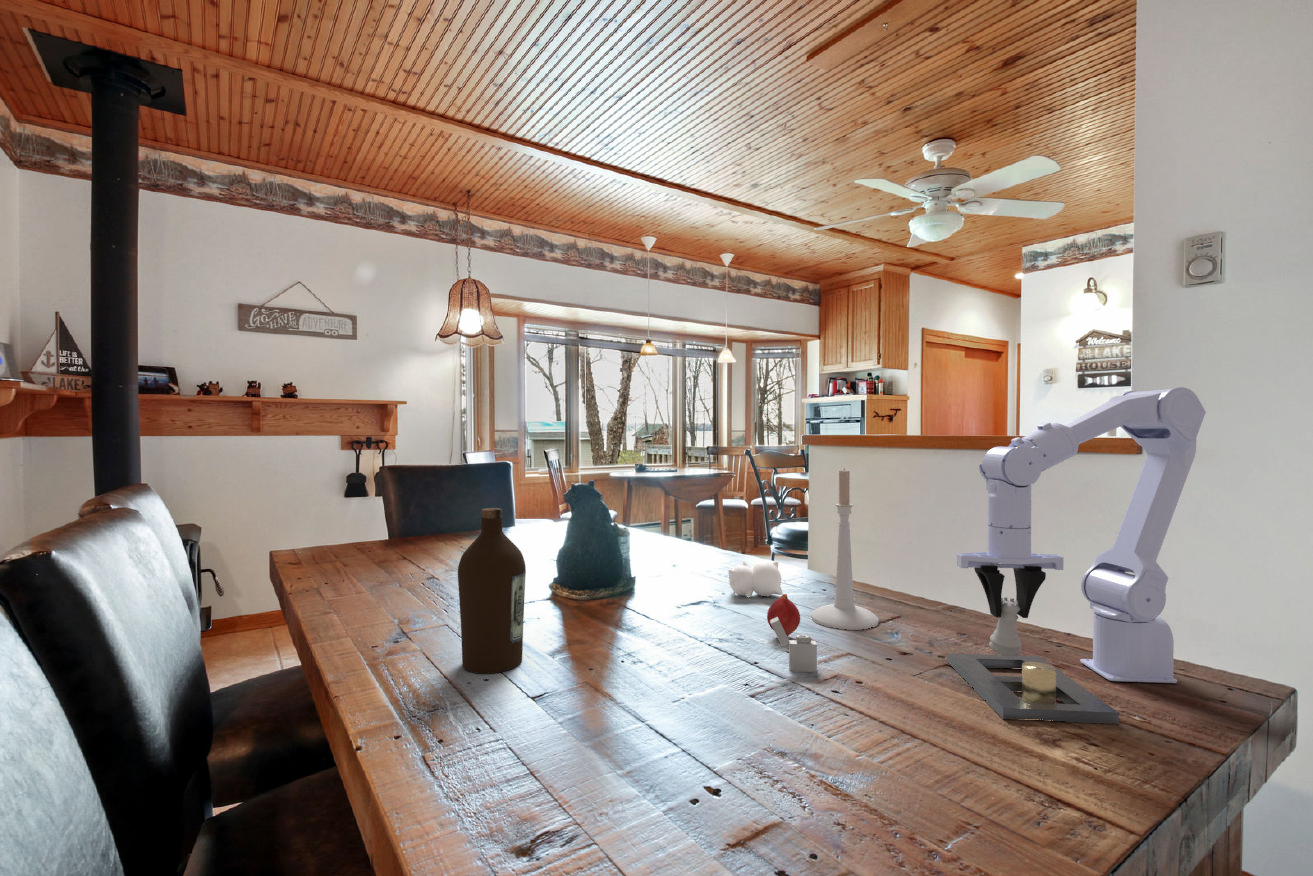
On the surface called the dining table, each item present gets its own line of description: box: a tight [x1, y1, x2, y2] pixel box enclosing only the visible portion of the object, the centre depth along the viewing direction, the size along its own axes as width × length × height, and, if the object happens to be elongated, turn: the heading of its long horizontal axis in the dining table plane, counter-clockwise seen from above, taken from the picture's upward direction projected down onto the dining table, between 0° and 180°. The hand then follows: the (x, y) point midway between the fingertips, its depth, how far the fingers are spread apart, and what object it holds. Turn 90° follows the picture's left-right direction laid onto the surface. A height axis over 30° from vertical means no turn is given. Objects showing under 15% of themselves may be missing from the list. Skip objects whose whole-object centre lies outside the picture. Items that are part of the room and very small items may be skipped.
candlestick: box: [810, 468, 880, 631], centre depth 124 cm, size 13×13×30 cm
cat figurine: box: [728, 560, 784, 597], centre depth 143 cm, size 9×11×12 cm
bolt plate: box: [946, 652, 1120, 725], centre depth 90 cm, size 14×20×5 cm
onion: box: [766, 593, 801, 638], centre depth 113 cm, size 6×6×8 cm
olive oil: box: [457, 507, 527, 675], centre depth 101 cm, size 11×11×25 cm
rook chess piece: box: [988, 596, 1023, 656], centre depth 95 cm, size 4×4×8 cm
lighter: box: [770, 617, 818, 673], centre depth 99 cm, size 7×2×8 cm, turn 84°
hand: (1009, 615), depth 95 cm, fingers closed on rook chess piece, 3 cm apart
